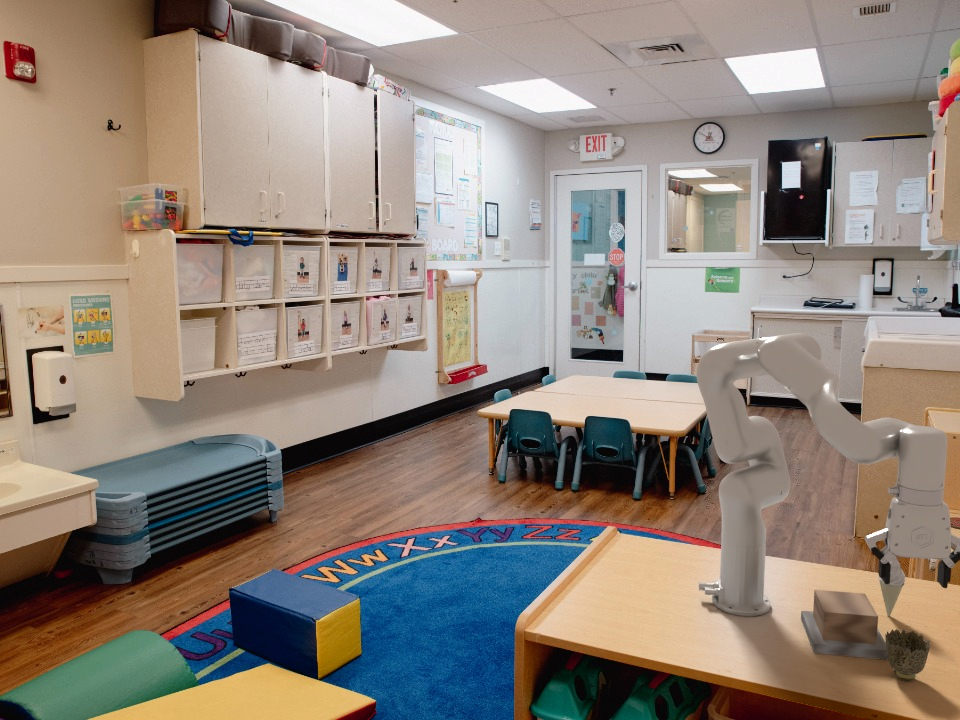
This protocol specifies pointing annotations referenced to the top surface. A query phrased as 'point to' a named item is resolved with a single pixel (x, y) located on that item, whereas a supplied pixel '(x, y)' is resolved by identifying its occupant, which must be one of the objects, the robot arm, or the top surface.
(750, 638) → the top surface
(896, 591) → the ice cream cone
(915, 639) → the cup
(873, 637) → the brown block on base
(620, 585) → the top surface
